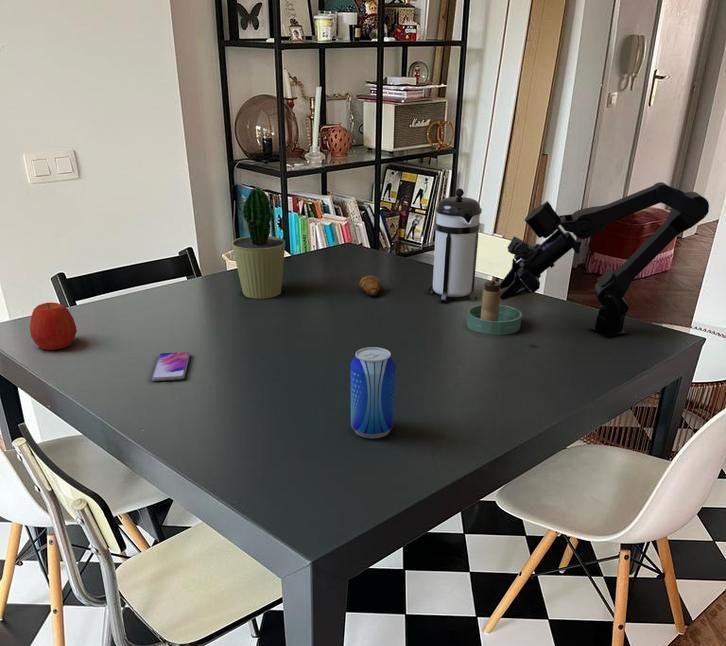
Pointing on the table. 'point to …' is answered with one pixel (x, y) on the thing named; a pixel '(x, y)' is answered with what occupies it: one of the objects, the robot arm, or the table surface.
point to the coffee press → (456, 246)
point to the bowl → (505, 325)
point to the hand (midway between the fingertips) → (500, 293)
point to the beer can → (372, 392)
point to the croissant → (370, 285)
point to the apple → (52, 326)
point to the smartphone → (171, 366)
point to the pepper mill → (491, 301)
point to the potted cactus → (259, 250)
